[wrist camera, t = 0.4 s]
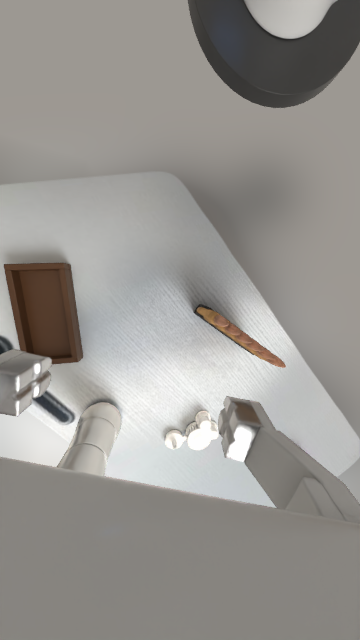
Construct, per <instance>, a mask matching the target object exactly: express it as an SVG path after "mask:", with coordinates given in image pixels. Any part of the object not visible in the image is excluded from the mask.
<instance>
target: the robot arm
mask: <svg viewBox="0 0 360 640" xmlns="http://www.w3.org/2000/svg"><path fill="white" fill-rule="evenodd" d="M336 1H337V0H244V2H245V4H246V6H247V8H248V10H249V12H250V13H251V15H252V16H253V18H254V19H255V20H256V22H257V23H258V24H259V25H260V26H261V27H262V28H263V29H265V30H266V31H267V32H269V33H271V34H272V35H274V36H277V37H280V38H285V39H295V38H299V37H302V36H305V35H307V34H308V33H310V32H311V31H313V30H314V29H315V28H316V27H317V26H318V25H319V24H320V22H321V21H322V20H323V18H324V16H325V15H326V13H327V11H328V10H329V8H330V6H331V5H332V4H333V3H334V2H336ZM51 367H52V360H51V358H50V357H46V356H42V355H38V354H33V353H29V352H25V351H20V350H10V351H7V352H5V353H3V354H1V355H0V414H6V415H12V416H18V415H19V414H21V413H22V412H23V411H24V410H25V409H26V408H27V407H29V406H30V405H31V403H32V399H35V398H37V397H40V396H41V395H42V394H43V393H44V392H45V391H46V389H47V388H48V386H49V384H50V381H51V374H50V373H49V371H48V369H49V368H51ZM223 404H224V407H225V408H224V409H223V410H221V411H220V414H219V418H218V430H219V434H220V435H221V436H222V437H223V439H222V442H221V443H222V447H223V452H224V456H225V458H229V459H234V460H238V461H242V462H245V464H246V466H247V467H248V469H249V470H250V471H251V473H252V474H253V476H254V477H255V478H256V480H257V481H258V482H259V484H260V485H261V487H262V488H263V489H264V491H265V492H266V494H267V495H268V496H269V498H270V499H271V500H272V502H273V503H274V505H275V506H276V507H277V508H273V507H267V506H262V505H256V504H251V503H246V502H240V501H235V500H229V499H224V498H219V497H213V496H208V495H203V494H197V493H192V492H186V491H181V490H176V489H170V488H165V487H160V486H154V485H149V484H144V483H138V482H133V481H127V480H122V479H117V478H111V477H106V476H100V475H95V474H90V473H84V472H79V471H73V470H68V469H63V468H57V467H52V466H46V465H41V464H36V463H30V462H25V461H19V460H14V459H8V458H3V457H0V640H360V504H359V502H358V501H357V500H356V499H355V497H354V496H353V495H352V493H351V492H350V491H349V489H348V488H347V487H346V485H345V484H344V483H343V482H341V481H340V480H339V479H338V478H336V477H335V476H334V475H333V474H332V473H330V472H329V471H328V470H327V469H325V468H324V467H323V466H322V465H321V464H319V463H318V462H317V461H316V460H314V459H313V458H312V457H311V456H310V455H308V454H307V453H306V452H305V451H303V450H302V449H301V448H300V447H299V446H297V445H296V444H295V443H294V442H292V441H291V440H290V439H289V438H288V437H286V436H285V435H284V434H283V433H281V432H280V431H277V430H276V429H275V427H274V426H273V424H272V422H271V421H270V419H269V417H268V416H267V414H266V412H265V411H264V409H263V407H262V406H261V404H260V403H259V402H256V401H250V400H244V399H239V398H234V397H229V396H227V397H226V398H225V400H224V403H223Z"/></svg>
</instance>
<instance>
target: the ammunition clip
mask: <svg viewBox="0 0 360 640" xmlns="http://www.w3.org/2000/svg"><path fill="white" fill-rule="evenodd" d="M194 313H195V314H196V315H197V316H199V317H200V318H202V319H203V320H204V321H206V322H207V323H209V324H210V325H211V326H213V327H214V328H215V329H217V330H218V331H220V332H221V333H222V334H224V335H225V336H227V337H228V338H229V339H231V340H232V341H234V342H235V343H236V344H238V345H239V346H241V347H242V348H244V349H245V350H247V351H248V352H250V353H251V354H253V355H256V356H257V357H259V358H260V359H263V360H265V361H267V362H269V363H271V364H273V365H275V366H278V367H282V368H284V367H286V366H285V364H284V362H283V361H282V360H281V359H280V358H278V357H277V356H275V355H274V354H272V353H271V352H270V351H269V350H267V349H266V348H264V347H263V346H261V345H260V344H259V343H258V342H257V341H255V340H254V339H252V338H251V337H250V336H249V335H247V334H246V333H244V332H243V331H241V330H240V329H239V328H238V327H236V326H235V325H234V324H232V323H230V321H228V320H227V319H226V318H224V317H223V316H221V315H220V314H219V313H218V312H215V311H214V310H212V309H211V308H209V307H207V306H204V305H201V304H199V306H198V307H197V308H196V310H195V311H194Z"/></svg>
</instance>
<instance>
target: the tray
mask: <svg viewBox="0 0 360 640" xmlns="http://www.w3.org/2000/svg"><path fill="white" fill-rule="evenodd" d="M4 269H5V274H6V280H7V285H8V290H9V295H10V300H11V305H12V310H13V315H14V320H15V325H16V330H17V335H18V340H19V345H20V350H21V351H25V352H29V353H33V354H38V355H42V356H46V357H50V358H51V360H52V364H61V363H73V362H79V361H80V360H81V359H82V358H83V352H82V345H81V338H80V330H79V323H78V316H77V309H76V302H75V294H74V287H73V280H72V273H71V265H69V264H66V263H33V264H4Z"/></svg>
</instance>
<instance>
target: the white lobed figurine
mask: <svg viewBox="0 0 360 640" xmlns="http://www.w3.org/2000/svg"><path fill="white" fill-rule="evenodd" d="M195 421H196V422H193V423H191V424H190V425H189V426H188V427H187V429H186V433H185V436H184V435H183V436H182V434H181V432H180V431H178V430H172V431H169V432H168V433H167V434H166V436H165V444H166V446H167V447H168V448H170V449H176V448H179V447H180V446H181V445H182V443H183V441H185V440H187V443H188V445H189V447H190V448H192V449H194V450H202V449H204V448H206V447H207V446H208V445H209V443H210V440H211V439H212V440H214V439H217V438H218V432H217V430H218V429H217V424H216V423H215V422H214V421H211V419H210V414H209V413H208V412H207V411H200V412H199V413H197V415H196V417H195ZM188 435H189V436H188Z"/></svg>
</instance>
